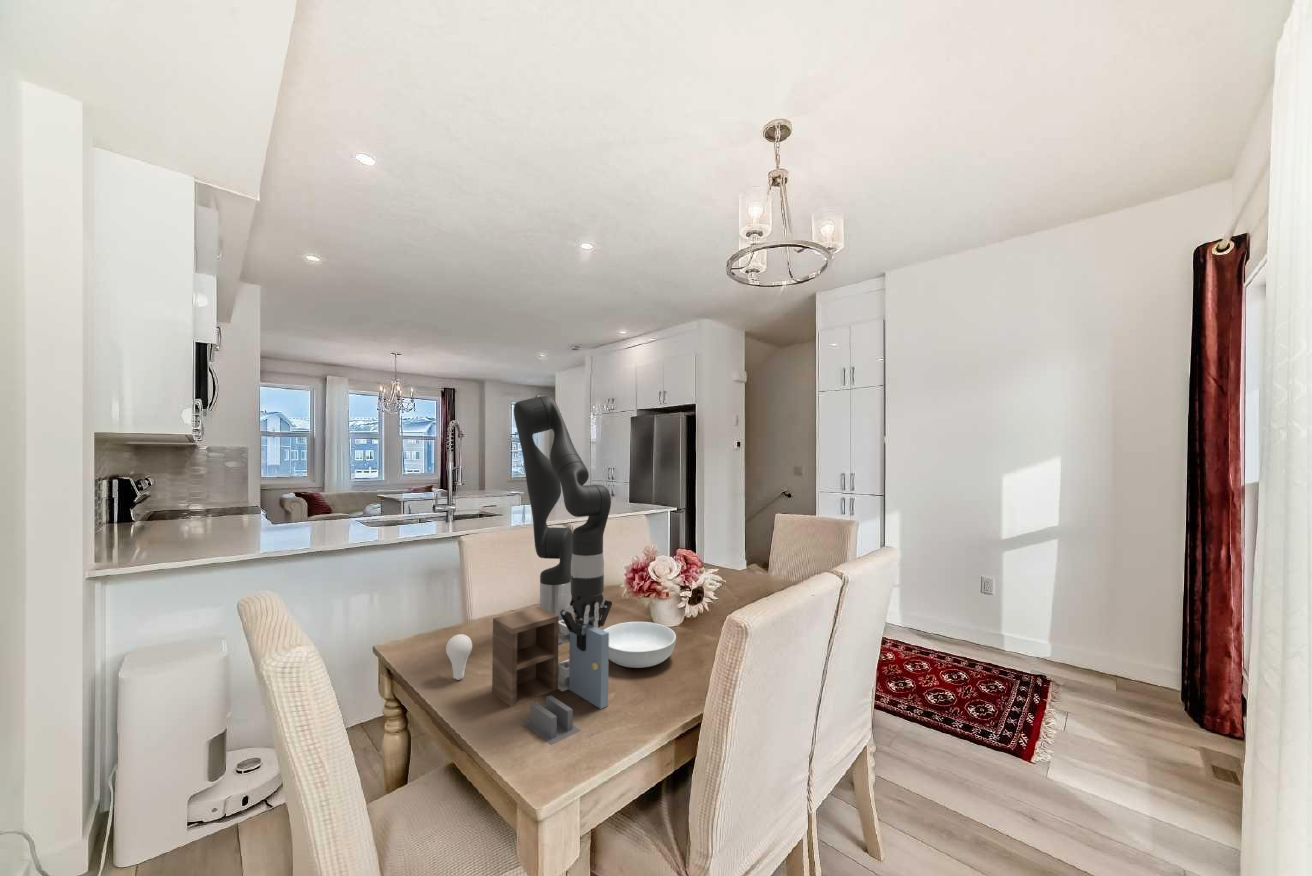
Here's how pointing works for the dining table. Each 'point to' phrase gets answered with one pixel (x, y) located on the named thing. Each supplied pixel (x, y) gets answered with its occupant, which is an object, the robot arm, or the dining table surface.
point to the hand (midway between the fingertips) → (586, 648)
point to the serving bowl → (640, 643)
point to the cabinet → (526, 655)
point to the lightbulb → (459, 653)
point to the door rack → (551, 720)
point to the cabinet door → (588, 665)
